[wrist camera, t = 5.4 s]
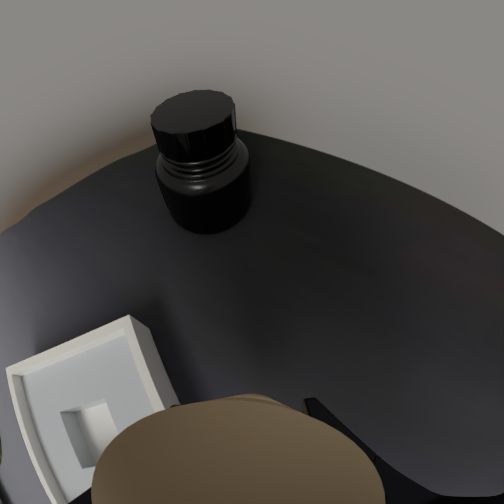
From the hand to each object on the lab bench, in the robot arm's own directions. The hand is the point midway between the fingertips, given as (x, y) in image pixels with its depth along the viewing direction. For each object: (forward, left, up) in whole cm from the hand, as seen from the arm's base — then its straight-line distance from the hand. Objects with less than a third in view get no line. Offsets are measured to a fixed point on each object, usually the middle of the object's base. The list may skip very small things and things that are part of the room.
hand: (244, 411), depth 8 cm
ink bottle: (+13, +15, -14) cm, 25 cm away
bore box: (-11, +7, -13) cm, 19 cm away
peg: (-1, -1, -7) cm, 7 cm away
